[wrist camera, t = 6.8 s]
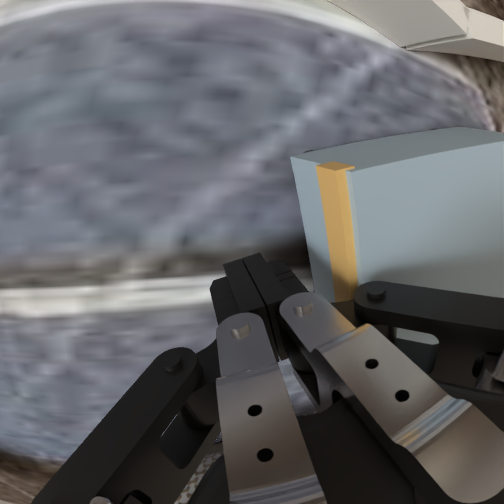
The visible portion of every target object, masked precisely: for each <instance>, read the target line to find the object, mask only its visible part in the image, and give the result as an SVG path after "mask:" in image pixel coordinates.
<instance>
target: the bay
mask: <svg viewBox="0 0 504 504" xmlns="http://www.w3.org/2000/svg"><path fill="white" fill-rule="evenodd" d="M327 1H329V2H331V3H333V4H335V5H337V6H338V7H340V8H342V9H344V10H345V11H347V12H349V13H350V14H352V15H354V16H355V17H357V18H359V19H360V20H362V21H363V22H365V23H366V24H368V25H369V26H371V27H372V28H374V29H375V30H377V31H378V32H380V33H381V34H383V35H384V36H386V37H387V38H388V39H390V40H391V41H393V42H394V43H395V44H397V45H398V46H399V47H403V46H406V50H416V51H431V52H442V53H451V54H459V55H466V56H473V57H479V58H485V59H491V60H496V61H501V62H504V21H503V20H500V19H498V18H495V17H493V16H490V15H488V14H485V13H482V12H479V11H477V10H474V9H471V8H468V7H466V6H465V5H464V4H463V3H462V2H461V1H460V0H327Z"/></svg>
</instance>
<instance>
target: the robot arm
mask: <svg viewBox="0 0 504 504" xmlns="http://www.w3.org/2000/svg"><path fill="white" fill-rule="evenodd" d="M223 267H224V270H225V274H226V277H223V278H220V279H216V280H213V282H212V285H211V287H210V292H211V297H212V301H213V305H214V309H215V313H216V317H217V322H218V328H217V330H216V337H217V338H216V339H215V340H214V342H213V343H212V344H211V345H209V346H208V347H206V348H205V349H203V350H201V351H200V352H198V353H196V354H195V353H194V352H193V351H192V350H191V349H188V348H184V347H178V348H173V349H170V350H167V351H165V352H163V353H162V354H160V355H159V356H158V357H157V358H156V359H155V360H154V361H153V362H152V363H151V364H150V365H149V367H148V368H147V369H146V370H145V371H144V372H143V373H142V375H141V376H140V377H139V378H138V379H137V380H136V382H135V383H134V384H133V385H132V386H131V387H130V388H129V390H128V391H127V392H126V393H125V394H124V395H123V396H122V398H121V399H120V400H119V401H118V402H117V403H116V405H115V406H114V407H113V408H112V409H111V410H110V411H109V413H108V414H107V415H106V416H105V417H104V418H103V419H102V421H101V422H100V423H99V424H98V425H97V426H96V428H95V429H94V430H93V431H92V432H91V433H90V434H89V436H88V437H87V438H86V439H85V440H84V441H83V443H82V444H81V445H80V446H79V447H78V448H77V449H76V451H75V452H74V453H73V454H72V455H71V456H70V458H69V459H68V460H67V461H66V462H65V463H64V464H63V466H62V467H61V468H60V469H59V470H58V471H57V473H56V474H55V475H54V476H53V477H52V478H51V480H50V481H49V482H48V483H47V484H46V485H45V486H44V488H43V489H42V490H41V491H40V492H39V493H38V495H37V496H36V497H35V498H34V500H33V501H32V503H31V504H174V503H175V501H176V500H177V498H178V497H179V496H180V494H181V493H182V491H183V490H184V488H185V487H186V485H187V484H188V482H189V481H190V479H191V478H192V476H193V474H194V473H195V471H196V470H197V468H198V467H199V465H200V464H201V462H202V460H203V459H204V457H205V456H206V454H207V453H208V451H209V449H210V448H211V446H212V445H213V443H214V441H215V440H216V438H217V437H218V435H219V433H220V432H221V435H222V443H223V450H224V454H222V455H221V456H220V457H219V458H218V459H217V460H216V461H215V462H214V463H213V464H212V465H211V466H210V467H209V469H208V470H207V471H206V472H205V474H204V476H203V477H202V479H201V481H200V482H199V484H198V486H197V487H196V489H195V491H194V492H193V494H192V496H191V497H190V499H189V501H188V502H187V504H504V298H500V297H492V296H485V295H478V294H470V293H463V292H456V291H449V290H442V289H435V288H427V287H420V286H413V285H406V284H400V283H393V282H386V281H370V282H367V283H364V284H362V285H360V286H359V287H357V288H356V289H355V291H354V294H353V299H354V300H348V301H342V302H328V301H327V300H326V299H325V298H324V297H323V296H321V295H319V294H317V293H313V292H309V291H308V290H307V289H306V288H305V286H304V285H303V284H302V283H301V281H300V280H299V279H298V278H297V277H296V276H295V274H294V273H293V272H292V271H291V269H290V268H289V267H288V266H287V264H285V263H283V262H280V261H278V260H275V261H272V262H269V263H267V262H266V261H265V259H264V258H263V256H262V255H261V253H257V254H254V255H250V256H247V257H244V258H242V260H241V259H238V260H235V261H232V262H229V263H225V264H223ZM397 328H401V329H406V330H411V331H417V332H422V333H428V334H432V335H434V336H435V337H436V338H437V339H438V341H439V343H438V344H434V345H432V344H426V343H421V342H416V341H411V340H405V339H400V338H397ZM278 355H279V357H280V359H281V361H282V360H284V359H287V358H289V360H290V362H291V364H292V368H293V372H294V375H295V377H296V379H297V380H298V382H299V383H300V385H301V387H302V388H303V390H304V391H305V393H306V394H307V396H308V397H309V399H310V400H311V402H312V404H313V405H314V407H315V408H316V410H317V411H318V413H317V414H312V415H307V416H301V417H296V415H295V412H294V409H293V406H292V403H291V400H290V397H289V394H288V391H287V388H286V385H285V382H284V380H283V377H282V374H281V371H280V368H279V365H278V362H279V357H278ZM177 414H178V415H177ZM176 415H177V416H176ZM175 416H176V417H175ZM174 417H175V419H174ZM173 419H174V420H173ZM172 420H173V421H172ZM171 421H172V423H171ZM170 423H171V424H170ZM169 424H170V425H169ZM168 426H169V427H168ZM167 427H168V428H167ZM166 428H167V430H166ZM165 430H166V431H165ZM164 431H165V432H164ZM163 432H164V434H163ZM162 434H163V435H162ZM161 435H162V436H161ZM160 437H161V438H160Z"/></svg>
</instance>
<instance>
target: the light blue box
mask: <svg viewBox="0 0 504 504" xmlns="http://www.w3.org/2000/svg"><path fill="white" fill-rule="evenodd" d="M290 158H291V163H292V168H293V176H294V180H295V183H296V188H297V193H298V198H299V203H300V208H301V214H302V219H303V225H304V230H305V236H306V241H307V247H308V253H309V259H310V265H311V271H312V278H313V284H314V291H315V292H314V293H317V294H319V295H321V296H323V297H324V298H325V299H326V300H327V301H328V302H342V301H348V300H354V299H353V294H354V291H355V289H356V288H357V287H359V286H360V285H362V284H364V283H367V282H370V281H386V282H393V283H400V284H406V285H413V286H420V287H427V288H435V289H442V290H449V291H456V292H463V293H470V294H478V295H485V296H492V297H500V298H504V133H500V132H494V131H487V130H480V129H473V128H465V127H454V128H445V129H431V130H429V131H422V132H415V133H408V134H401V135H395V136H389V137H383V138H377V139H372V140H366V141H361V142H355V143H350V144H345V145H340V146H335V147H330V148H326V149H321V150H316V151H315V150H311V151H306V152H304V153H302V154H298V155H294V156H290ZM397 338H400V339H405V340H411V341H416V342H421V343H426V344H432V345H434V344H438V343H439V341H438V339H437V338H436V337H435V336H434V335H432V334H428V333H422V332H417V331H411V330H406V329H401V328H397Z"/></svg>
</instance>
